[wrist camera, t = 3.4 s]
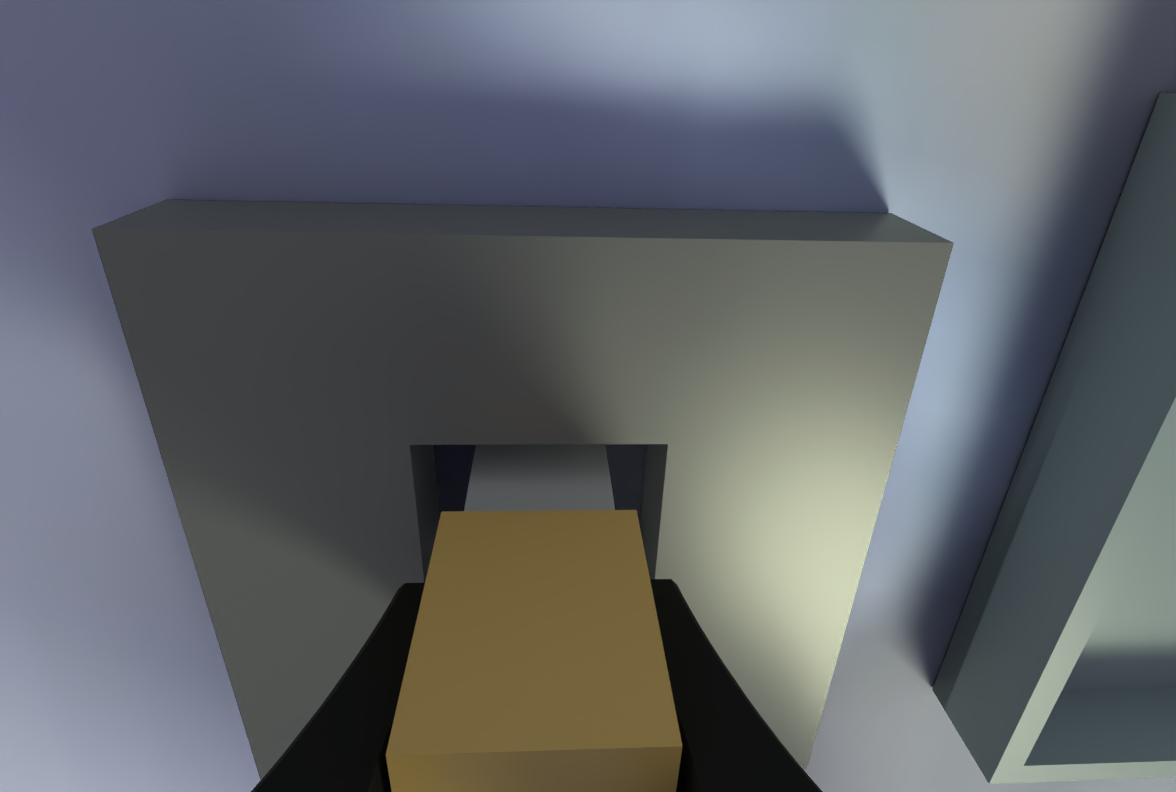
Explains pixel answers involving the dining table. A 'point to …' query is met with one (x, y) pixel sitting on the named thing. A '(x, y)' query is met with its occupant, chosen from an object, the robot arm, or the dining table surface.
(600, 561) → the block
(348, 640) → the fuse holder
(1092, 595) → the parts tray
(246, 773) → the dining table surface
